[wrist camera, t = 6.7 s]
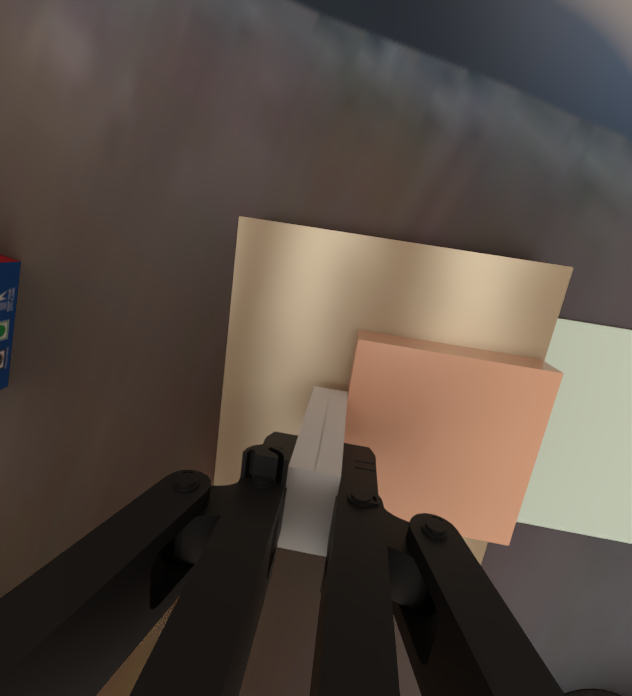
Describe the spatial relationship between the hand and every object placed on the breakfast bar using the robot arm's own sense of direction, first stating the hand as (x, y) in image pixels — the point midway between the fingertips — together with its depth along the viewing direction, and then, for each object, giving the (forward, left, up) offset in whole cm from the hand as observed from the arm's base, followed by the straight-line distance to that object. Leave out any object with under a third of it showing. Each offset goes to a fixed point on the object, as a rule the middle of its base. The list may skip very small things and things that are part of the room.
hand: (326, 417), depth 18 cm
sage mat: (+15, -1, -5) cm, 16 cm away
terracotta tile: (+5, 0, -1) cm, 5 cm away
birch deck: (+2, 0, -5) cm, 6 cm away
